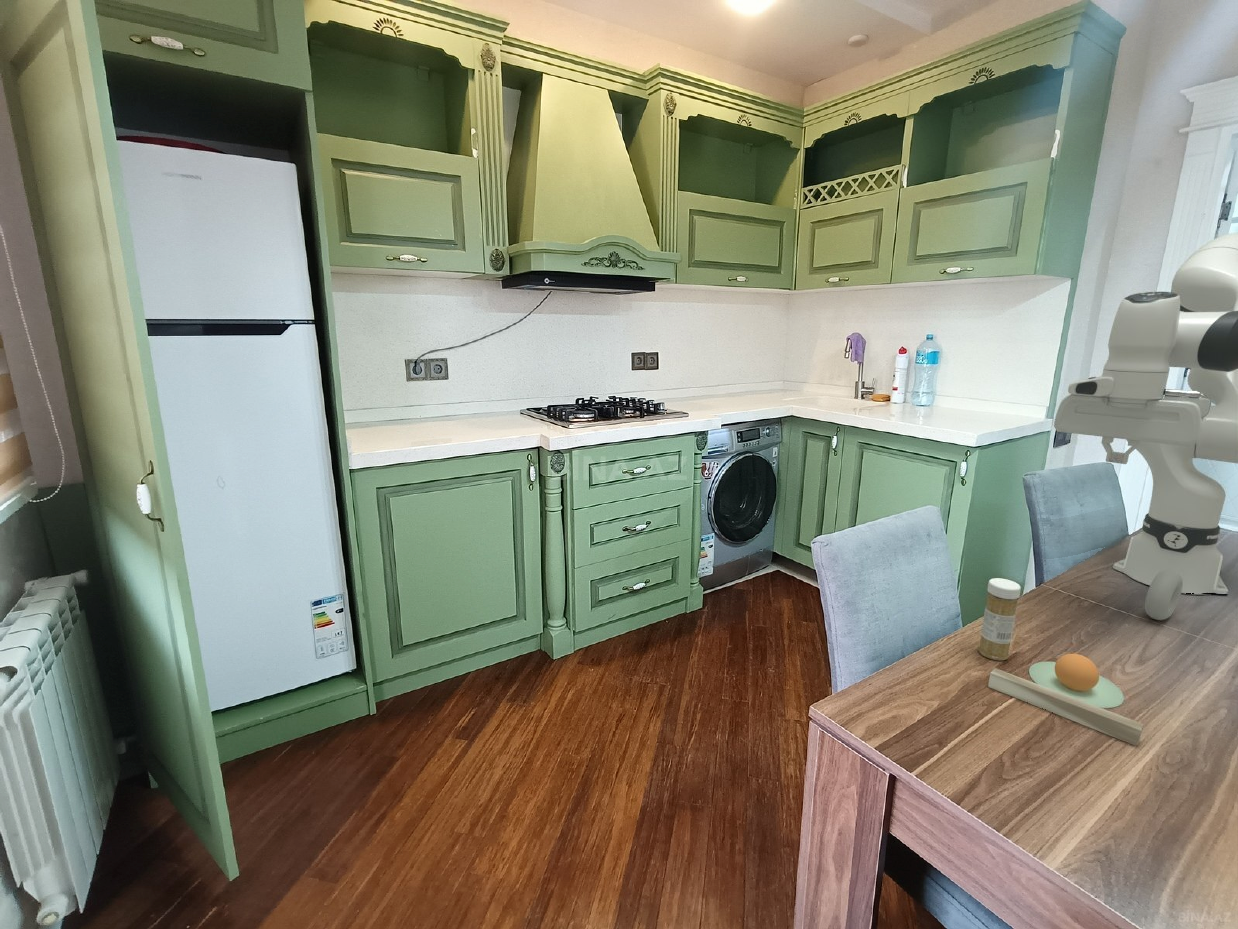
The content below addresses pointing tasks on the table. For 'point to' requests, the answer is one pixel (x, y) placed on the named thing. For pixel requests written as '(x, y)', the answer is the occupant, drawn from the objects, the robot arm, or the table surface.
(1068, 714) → the rail
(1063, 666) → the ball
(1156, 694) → the table surface
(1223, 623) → the table surface
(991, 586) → the sprinkles bottle
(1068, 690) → the disc
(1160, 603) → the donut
